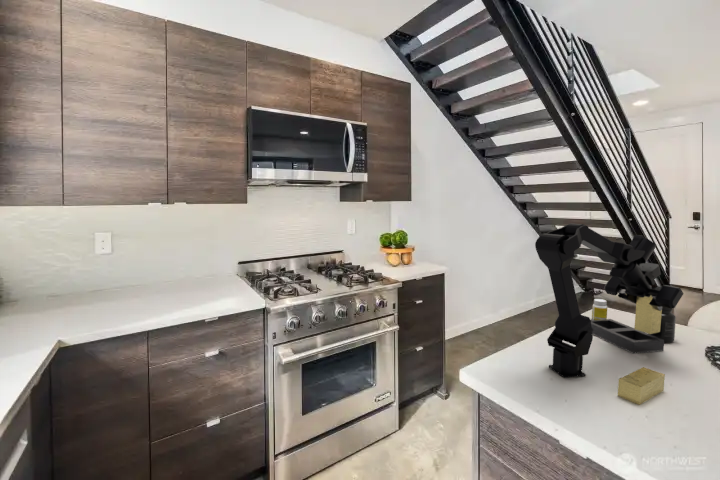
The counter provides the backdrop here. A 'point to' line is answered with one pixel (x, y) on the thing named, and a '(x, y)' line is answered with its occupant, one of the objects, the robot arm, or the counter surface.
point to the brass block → (647, 316)
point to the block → (641, 385)
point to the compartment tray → (626, 336)
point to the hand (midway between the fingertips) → (651, 307)
